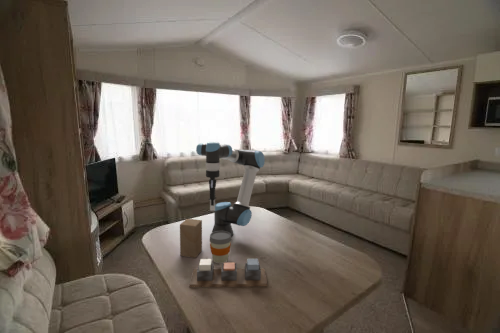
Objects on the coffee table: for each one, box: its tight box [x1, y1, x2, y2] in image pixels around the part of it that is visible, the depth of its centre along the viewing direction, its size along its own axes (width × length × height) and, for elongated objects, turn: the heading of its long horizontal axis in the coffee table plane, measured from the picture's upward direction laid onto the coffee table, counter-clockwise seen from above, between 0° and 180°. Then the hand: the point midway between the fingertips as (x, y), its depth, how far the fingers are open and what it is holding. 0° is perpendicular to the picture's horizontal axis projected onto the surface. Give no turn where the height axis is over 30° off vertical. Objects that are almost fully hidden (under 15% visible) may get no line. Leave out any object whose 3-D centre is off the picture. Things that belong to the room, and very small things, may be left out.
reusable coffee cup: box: [209, 231, 232, 264], centre depth 146 cm, size 13×13×15 cm
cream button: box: [198, 258, 213, 271], centre depth 127 cm, size 6×6×5 cm
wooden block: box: [179, 218, 203, 259], centre depth 151 cm, size 10×10×20 cm
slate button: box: [246, 258, 260, 270], centre depth 128 cm, size 6×6×5 cm
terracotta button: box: [224, 261, 236, 271], centre depth 128 cm, size 6×6×5 cm
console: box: [189, 262, 268, 288], centre depth 128 cm, size 38×13×6 cm, turn 94°
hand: (212, 210), depth 144 cm, fingers closed
